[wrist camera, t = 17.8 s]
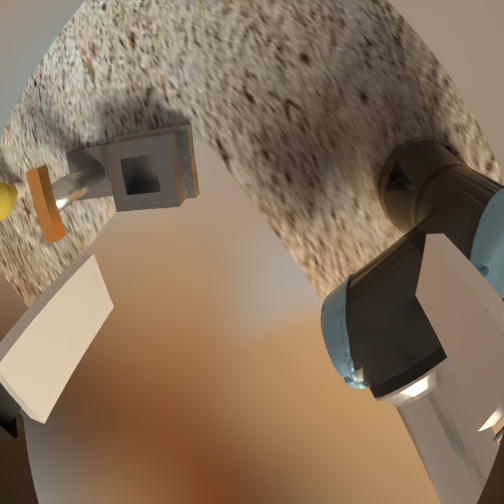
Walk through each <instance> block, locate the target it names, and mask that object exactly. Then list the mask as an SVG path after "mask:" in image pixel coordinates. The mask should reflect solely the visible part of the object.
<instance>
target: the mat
mask: <svg viewBox="0 0 504 504" xmlns="http://www.w3.org/2000/svg"><path fill="white" fill-rule="evenodd" d="M111 143H112V142H111ZM107 144H110V143H106V144H102V145H97V146H93V147H88V148H84V149H80V150H76V151H72V152H69V153H66V155H67V160H68V165H69V170H70V173H72V172H74V171H75V170H77V169H79V168H81V167H83V166H85V165H87V164H89V163H91V162H99V163H100V164H101V165H102V166H103V167H104V170H105V178H104V180H103V181H102V182H101V183H100V184H98V185H97V186H95V187H94V188H92V189H91V190H89V191H88V192H86V193H85V194H84V195H82V196H81V197H79V198H78V199H76V200H84V199H91V198H98V197H106V196H113V193H112V189H111V184H110V179H109V174H108V169H107V164H106V158H105V153H104V147H103V146H105V145H107Z"/></svg>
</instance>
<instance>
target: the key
mask: <svg viewBox="0 0 504 504" xmlns="http://www.w3.org/2000/svg"><path fill="white" fill-rule="evenodd" d="M26 174H27V179H28V183H29V186H30V190H31V194H32V198H33V201H34V205H35V208H36V211H37V215H38V218H39V221H40V224H41V227H42V230H43V233H44V236H45V239H46V242H47V243H49V242H58V241H59V240H60V239H61V238H62V237H64V236H65V235H66V234H65V231H64V228H63V225H62V222H61V219H60V215H59V212H60V211H61V210H63V209H64V208H65V207H67V206H68V205H70V204H71V203H72V202H74V201H75V200H76V199H78V198H79V197H81V196H82V195H84V194H85V193H86V192H88V191H89V190H91V189H92V188H94V187H95V186H97V185H98V184H100V183H101V182H102V181H103V180H104V178H105V170H104V167H103V166H102V165H101V164H100V163H99V162H91V163H89V164H87V165H85V166H83V167H81V168H79V169H77V170H75V171H74V172H72V173H70V174H68V175H66V176H65V177H63V178H61V179H59V180H57V181H56V182H54V183H52V184H51V182H50V178H49V174H48V170H47V165H43V166H40V167H36V168H34V169H32V170H30V171H28V172H26Z"/></svg>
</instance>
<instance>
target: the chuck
mask: <svg viewBox="0 0 504 504" xmlns="http://www.w3.org/2000/svg"><path fill="white" fill-rule="evenodd" d="M103 147H104V153H105V158H106V164H107V169H108V174H109V179H110V184H111V189H112V193H113V198H114V202H115V206H116V211H117V212H120V211H131V210H142V209H155V208H168V207H179V206H180V205H181V204H182V203H183V201H184V200H185V199H186V198H196V197H197V196H198V194H199V187H198V179H197V172H196V164H195V156H194V147H193V138H192V129H191V124H184V125H177V126H170V127H163V128H157V129H151V130H145V131H139V132H134V133H129V134H124V135H119V136H116V137H113V142H112V143H110V144H107V145H105V146H103Z"/></svg>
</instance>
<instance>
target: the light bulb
mask: <svg viewBox="0 0 504 504" xmlns="http://www.w3.org/2000/svg"><path fill="white" fill-rule="evenodd" d="M24 193H25V185H24V184H23V183H22V182H15V183H13V184H11V185H9V184H6V183H0V221H1V220H4V219H5V218H7V217H8V216H9V215H10V213H11V211H12V209H13V207H14V205H15V202H16V200H18V199H19V198H21V197H22V196H23V194H24Z"/></svg>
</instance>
